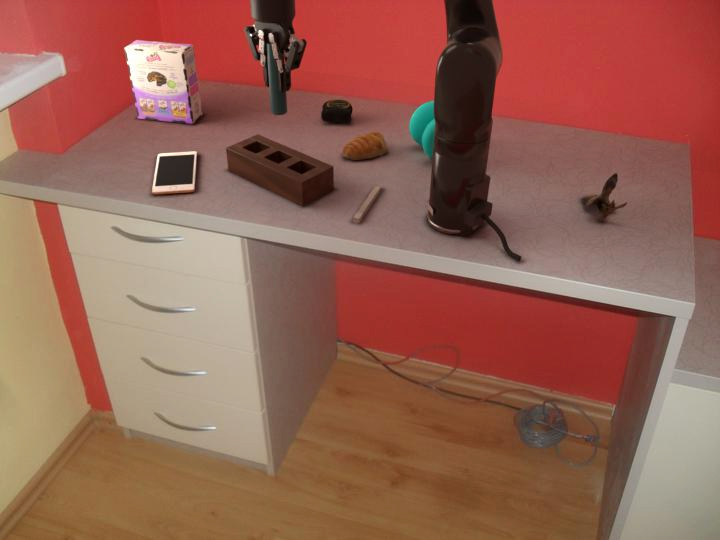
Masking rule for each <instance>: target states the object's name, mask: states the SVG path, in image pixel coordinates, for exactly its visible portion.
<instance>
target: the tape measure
mask: <svg viewBox="0 0 720 540" xmlns="http://www.w3.org/2000/svg"><path fill="white" fill-rule="evenodd" d="M352 115H353V105H352V104H351V102H349V101H348V100H345V99H339V98H338V99H330V100H327V101H325V102H324V103H323V104H322V108H321V112H320V119H321V120H322V121H323V122H326V123H327V122H328V123H335V124H338V123H351V122H352Z"/></svg>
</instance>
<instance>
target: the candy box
mask: <svg viewBox="0 0 720 540" xmlns="http://www.w3.org/2000/svg"><path fill="white" fill-rule="evenodd" d="M123 51H124V54H125V59H126V64H127V70H128V76H129V80H130V84H131V91H132V95H133V101H134V105H135V110H136V116H137V119H139V120H150V121H158V122H159V121H160V122H170V123H179V124H180V123H181V124H187V125H190V124H191V125H194V124H195V123H196V122H197V121H198V120H199V119H200V118H202V116H203V108H202V107H203V105H202V100H201V92H200V84H199V76H198V70H197V62H196V55H195V48H194V44H191V43H177V42H165V41H154V40H153V41H151V40H142V39H141V40H140V39H136V40H134V41H132V42H131V43H130V44H127V46H125V47H124V48H123Z"/></svg>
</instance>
